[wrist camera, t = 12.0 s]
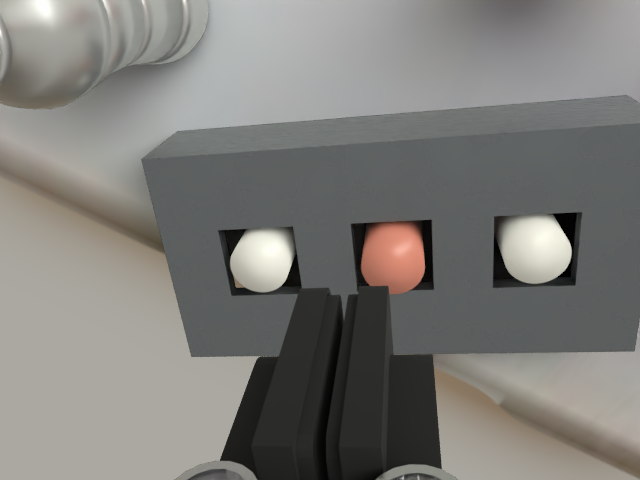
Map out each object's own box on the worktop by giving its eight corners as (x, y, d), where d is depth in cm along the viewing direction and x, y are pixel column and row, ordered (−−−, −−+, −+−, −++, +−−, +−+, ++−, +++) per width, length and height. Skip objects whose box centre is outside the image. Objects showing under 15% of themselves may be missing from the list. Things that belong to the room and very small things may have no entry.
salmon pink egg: (420, 196, 37) (423, 237, 31) (422, 246, 38) (426, 293, 33) (364, 199, 37) (358, 240, 32) (368, 248, 39) (363, 295, 34)
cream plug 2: (548, 185, 36) (574, 224, 31) (545, 236, 38) (569, 282, 32) (489, 188, 37) (504, 227, 31) (489, 239, 38) (503, 284, 33)
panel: (626, 95, 34) (669, 120, 28) (603, 298, 40) (634, 351, 34) (177, 131, 38) (141, 159, 33) (216, 308, 44) (191, 356, 39)
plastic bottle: (185, 78, 37) (-19, 191, 19) (93, 11, 35) (-216, 63, 18) (238, -10, 34) (57, 24, 16) (140, -87, 33) (-171, -141, 15)
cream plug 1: (300, 199, 39) (284, 238, 33) (306, 247, 40) (292, 291, 35) (249, 202, 39) (225, 241, 34) (257, 249, 41) (235, 293, 35)
